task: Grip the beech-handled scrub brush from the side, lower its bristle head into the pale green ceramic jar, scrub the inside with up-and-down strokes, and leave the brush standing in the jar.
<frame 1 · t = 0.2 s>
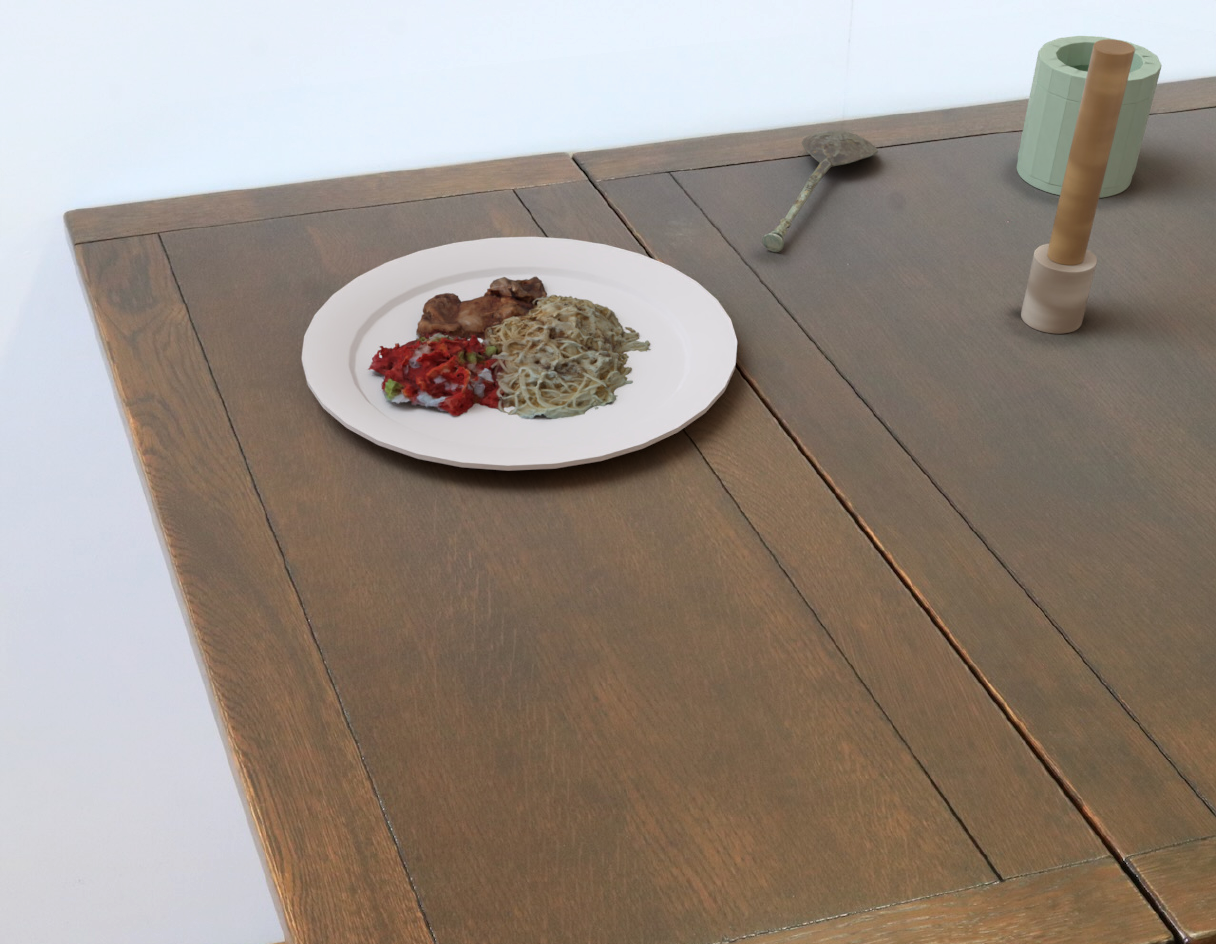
jar: (1073, 173, 128), on the table
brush: (1051, 318, 110), on the table
plated food: (521, 364, 105), on the table
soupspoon: (811, 198, 125), on the table
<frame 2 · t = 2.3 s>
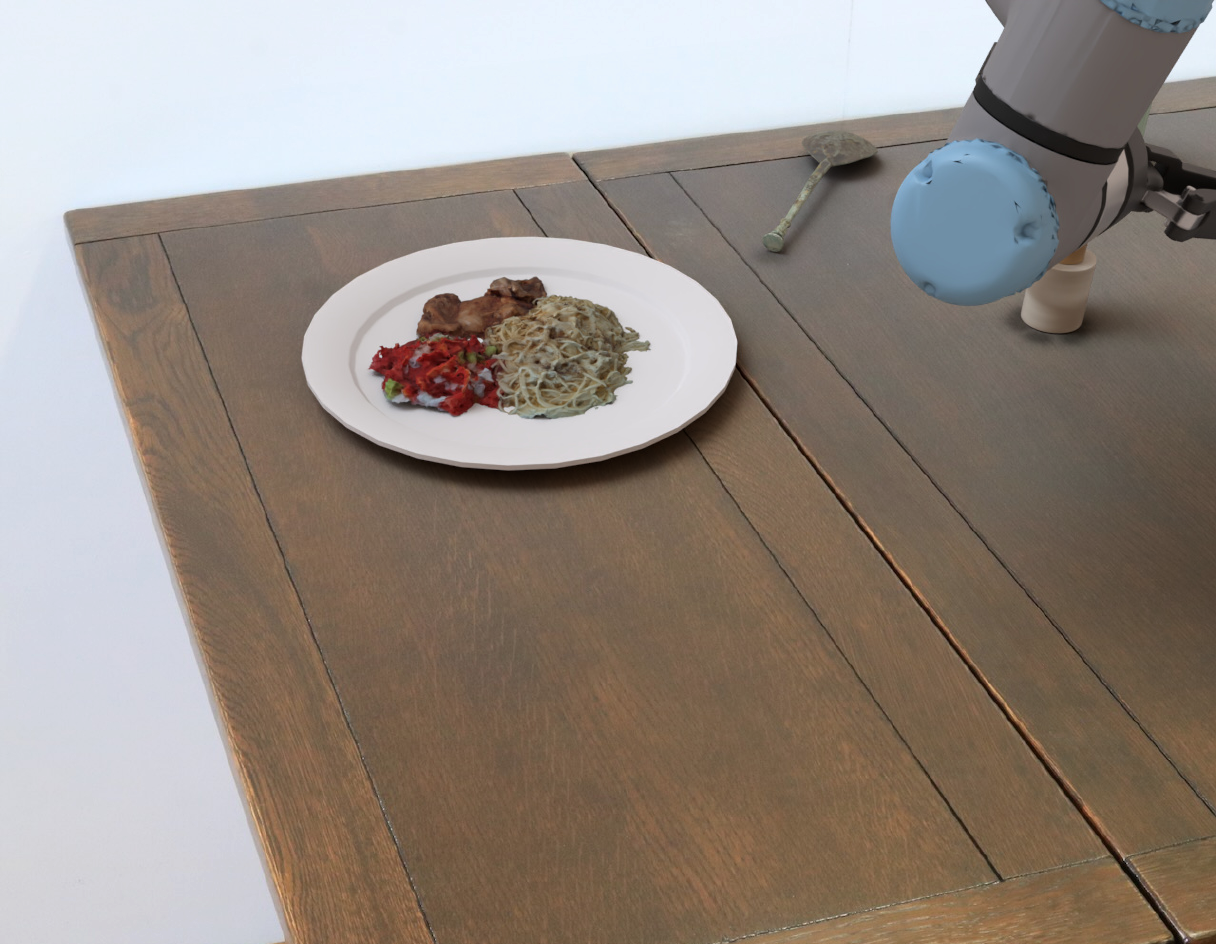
hand: (1160, 122, 96), 17 cm above the table, tool horizontal, fingers open, 13 cm apart
nothing on the table moved.
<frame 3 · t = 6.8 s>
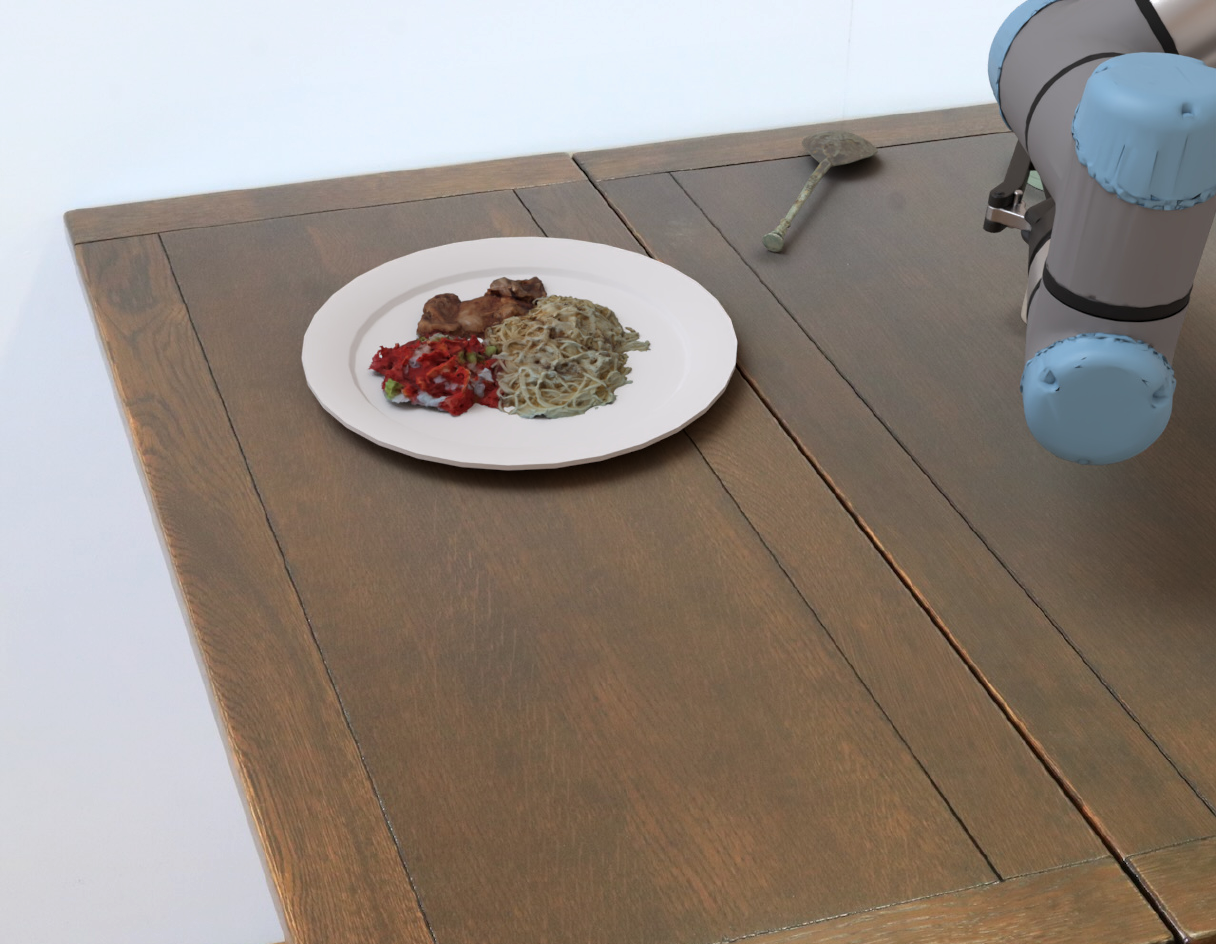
hand: (1089, 117, 105), 13 cm above the table, tool horizontal, fingers closed on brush, 3 cm apart
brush: (1051, 318, 110), on the table, touching gripper
everything else where it was.
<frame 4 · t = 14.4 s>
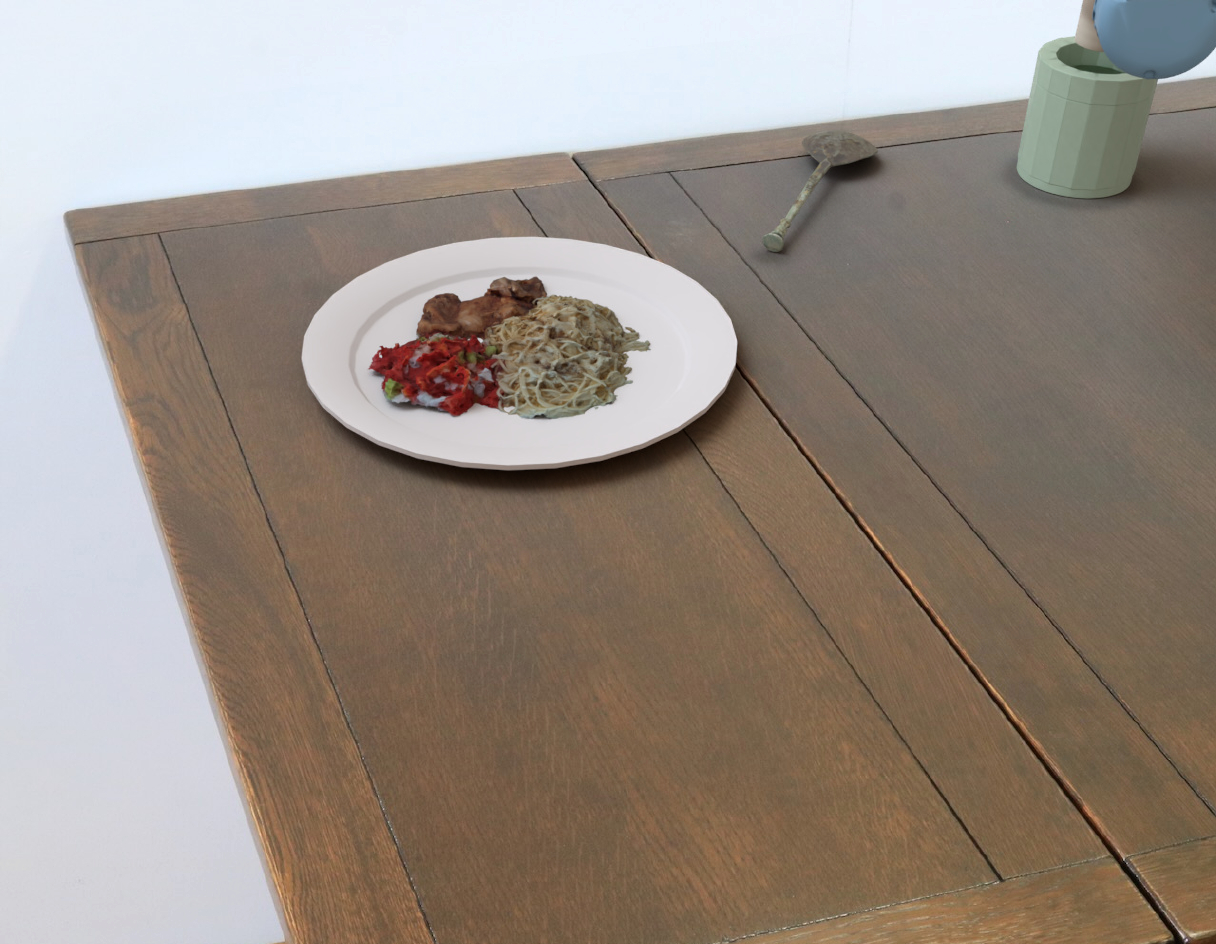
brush: (1102, 42, 121), point 11 cm above the table, touching gripper
everything else where it was.
when the fingers open (14 cm above the table, at t = 22.0 s): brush stays where it is, resting on jar.
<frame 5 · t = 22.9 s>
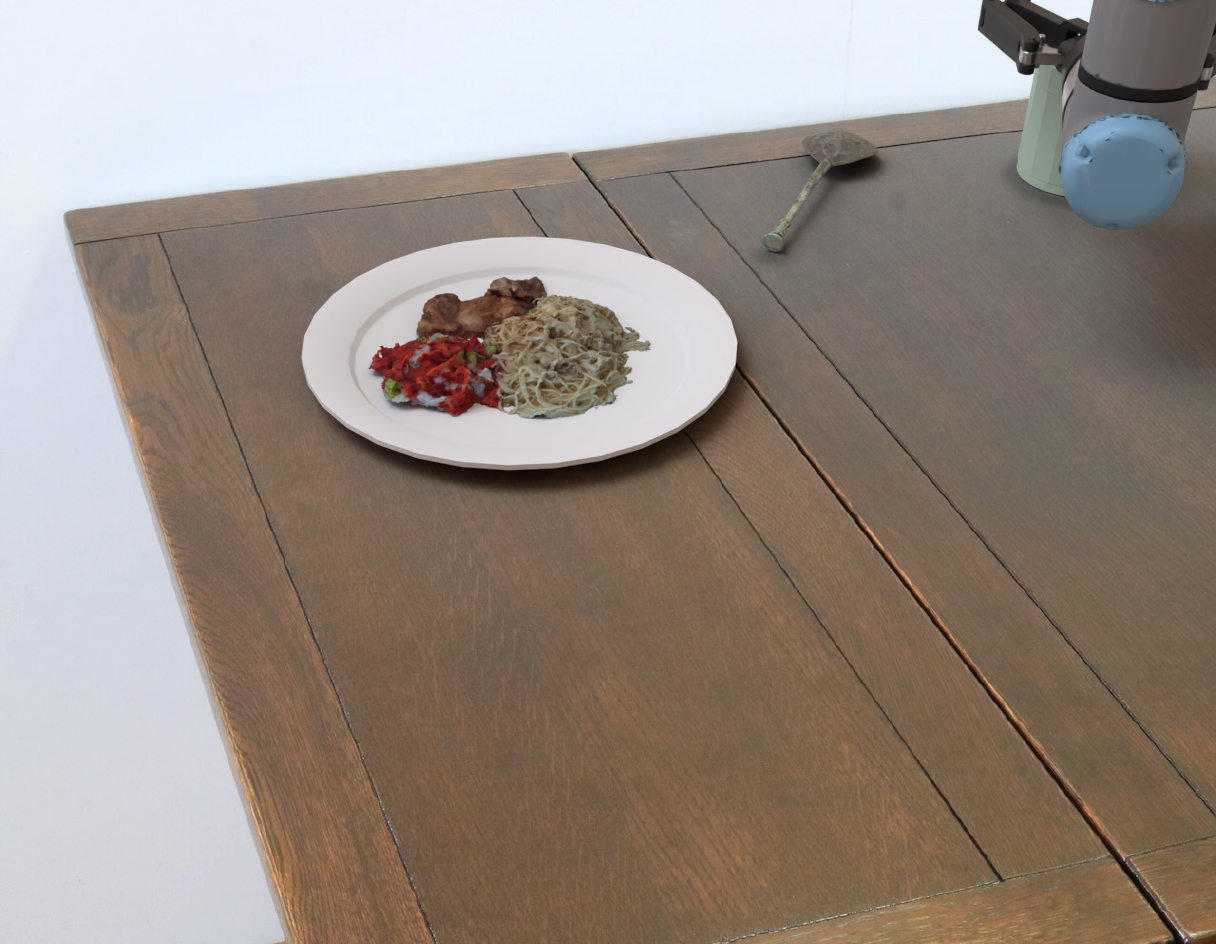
jar: (1073, 173, 128), on the table, touching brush
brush: (1074, 164, 128), point 1 cm above the table, touching jar
everything else where it was.
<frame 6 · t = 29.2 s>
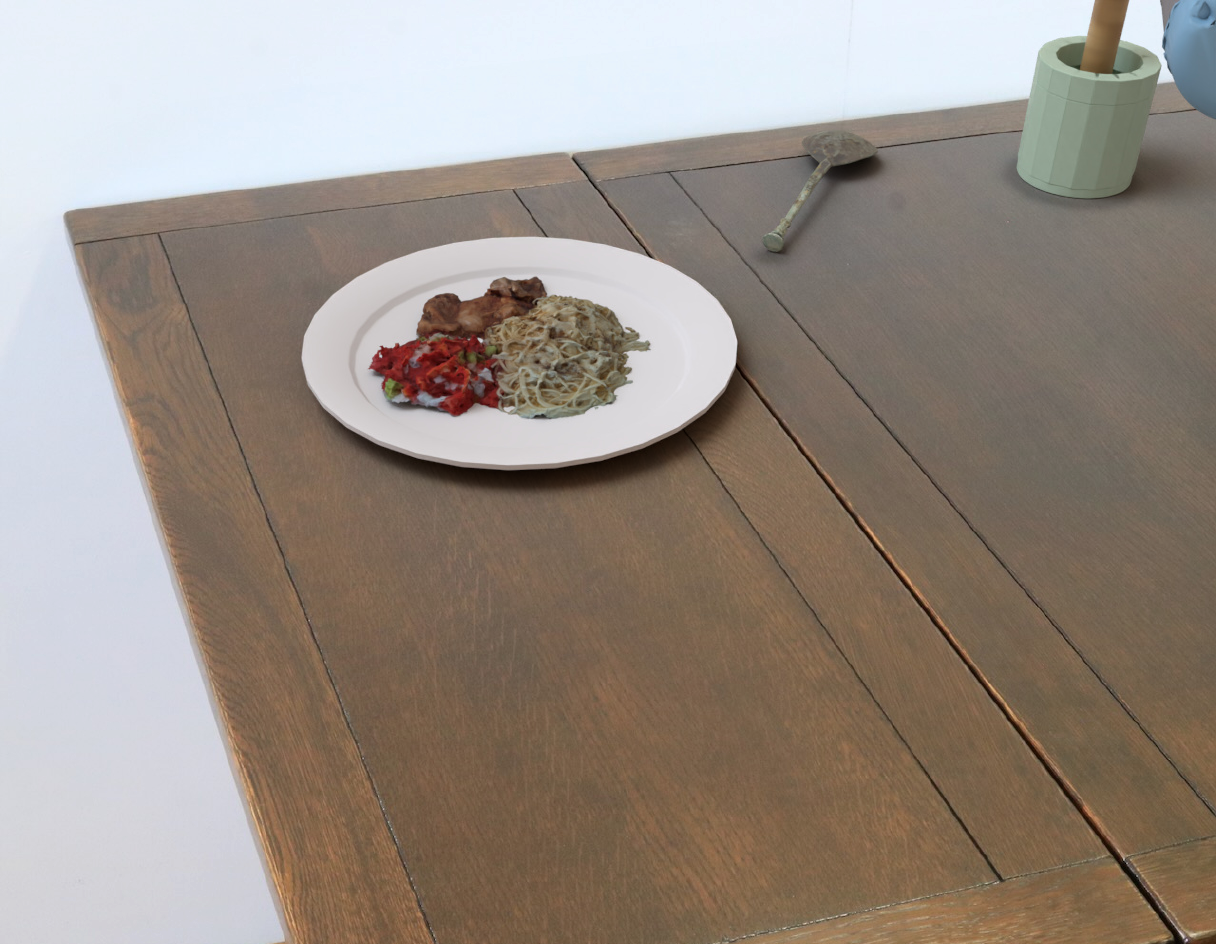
nothing on the table moved.
at the end: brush 0.1 cm off-centre in the jar, point 0.8 cm above the jar's base; the gripper is holding nothing; jar tilted 0° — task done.
